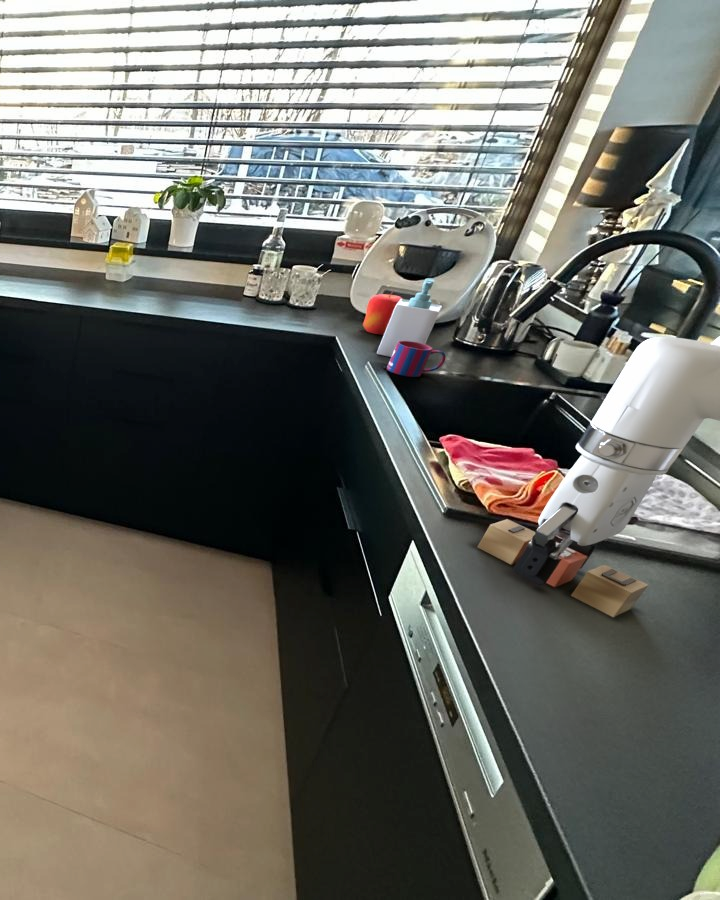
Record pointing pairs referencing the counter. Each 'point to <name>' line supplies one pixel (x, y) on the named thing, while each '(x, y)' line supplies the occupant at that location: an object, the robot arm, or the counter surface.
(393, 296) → the apple
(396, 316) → the soap bottle
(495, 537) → the block
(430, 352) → the mug
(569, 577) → the block
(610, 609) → the block
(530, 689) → the counter surface
